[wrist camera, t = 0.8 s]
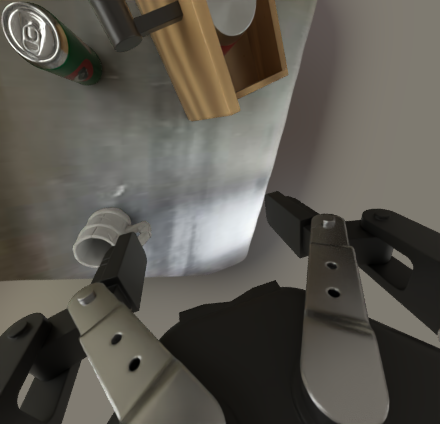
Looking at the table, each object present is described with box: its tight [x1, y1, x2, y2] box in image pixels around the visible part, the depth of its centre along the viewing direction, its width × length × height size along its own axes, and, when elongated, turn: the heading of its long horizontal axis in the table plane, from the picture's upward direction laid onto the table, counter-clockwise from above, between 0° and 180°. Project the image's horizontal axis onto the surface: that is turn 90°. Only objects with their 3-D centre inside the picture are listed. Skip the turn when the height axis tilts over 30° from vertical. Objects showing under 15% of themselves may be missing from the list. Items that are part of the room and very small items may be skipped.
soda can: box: [2, 2, 102, 85], centre depth 23 cm, size 5×5×12 cm
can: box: [206, 0, 256, 56], centre depth 24 cm, size 5×5×12 cm
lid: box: [88, 0, 240, 121], centre depth 15 cm, size 15×17×5 cm
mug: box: [73, 207, 152, 268], centre depth 34 cm, size 8×12×12 cm, turn 89°
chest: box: [135, 0, 288, 120], centre depth 26 cm, size 15×17×9 cm
